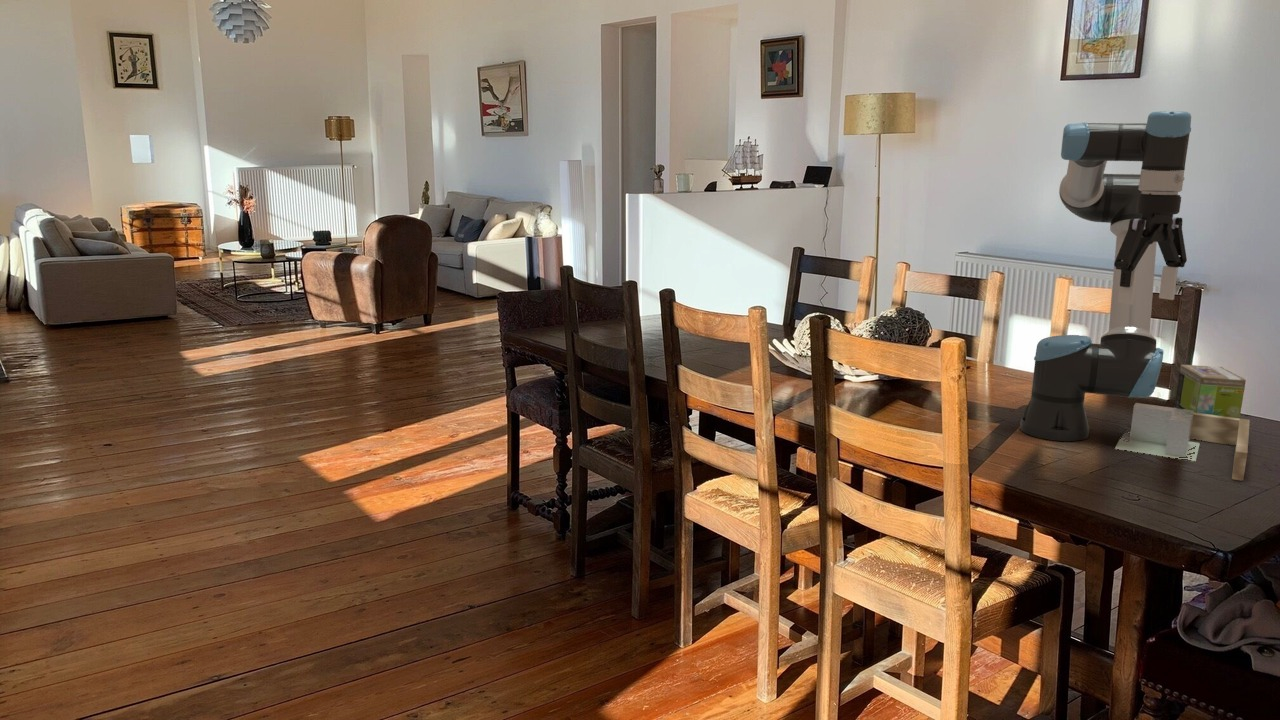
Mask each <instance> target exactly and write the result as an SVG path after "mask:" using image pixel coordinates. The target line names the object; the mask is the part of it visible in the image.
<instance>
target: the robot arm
mask: <svg viewBox="0 0 1280 720" xmlns="http://www.w3.org/2000/svg"><path fill="white" fill-rule="evenodd" d="M1191 124H1192V115H1191V113H1190V112H1189V111H1181V110H1180V111H1179V110H1178V111H1177V110H1176V111H1175V110H1173V111H1172V110H1171V111H1170V110H1166V111H1163V110H1162V111H1153V112H1150V113H1149V114H1148V116H1147V122H1146V123H1145V122H1143V123H1142V122H1141V123H1121V122H1120V123H1116V122H1115V123H1110V122H1109V123H1108V122H1107V123H1103V122H1099V123H1098V122H1097V123H1096V122H1077V123H1068V124H1066V125H1065V126H1064V127H1063V132H1062V138H1061V139H1062V140H1061V152H1060V157H1061V159H1063V160H1065V161H1068V164H1067V165H1068V166H1067V168H1066V169H1067V170H1066V174H1065V175H1064V176H1063V178H1062V180H1061V181H1060V184H1059V199H1060V201H1061V203H1062V204H1063V206H1064V207H1065V208H1066V209H1067V210H1068V211H1069V212H1071V213H1072V214H1073V215H1075V216H1077V217H1078V218H1081V219H1083V220H1086V221H1090V222H1093V223H1105V224H1106V223H1107V224H1108V223H1110V228H1109V230H1110V232H1111V233H1112V234H1113V235H1114V236H1115V237H1116V238H1115V239H1116V240H1115V250H1114V263H1113V275H1112V284H1111V285H1112V289H1111V299H1110V312H1109V323H1108V325H1109V326H1108V331H1107V332H1105V333H1104V334H1103V335H1101V336H1100V343H1093V340H1092V339H1091V337H1090V336H1087V335H1078V334H1065V335H1063V334H1062V335H1060V334H1059V335H1054V336H1052V335H1051V336H1047V337H1045V338H1042V339H1040V340H1039V341H1038V342H1037V345H1036V349H1035V356H1034V357H1033V360H1034V368H1033V376H1032V385H1031V393H1030V394H1031V396H1030V398H1029V399H1030V400H1029V401H1028V404H1027V406H1026V408H1025V410H1024V412H1023V415H1022V416H1021V419H1020V426H1019V429H1020V431H1022V432H1023V433H1024V434H1027V435H1029V436H1032V437H1035V438H1040V439H1044V440H1051V441H1060V442H1061V441H1062V442H1076V441H1077V442H1078V441H1082V440H1086V439H1088V438H1089V434H1090V425H1089V422H1088V418H1087V417H1088V416H1087V412H1086V407H1085V396H1086V394H1093V395H1094V394H1095V395H1107V396H1116V397H1126V398H1128V399H1130V398H1141V399H1142V398H1143V399H1145V398H1148V397H1150V396H1152V395H1153V393H1154V392H1155V389H1156V386H1157V384H1158V380H1159V377H1160V374H1161V373H1160V372H1161V369H1162V365H1163V361H1164V352H1165V351H1164V349H1162V348H1160V347H1157V338H1155V336H1153V335H1152V334H1151V321H1152V319H1151V318H1152V309H1153V308H1152V307H1153V294H1154V293H1153V292H1154V281H1155V280H1154V279H1155V270H1156V269H1155V268H1156V255H1157V244H1158V247H1159V249H1160V252H1161V255H1162V257H1163V260H1164V262H1165V265H1164V266H1163V265H1162V270H1161V278H1160V279H1161V280H1160V286H1159V287H1160V288H1159V294H1158V299H1163V300H1170V301H1174V300H1175V294H1176V286H1177V285H1176V284H1177V278H1178V272H1179V268H1185V265H1186V263H1187V259H1188V258H1187V252H1186V251H1187V250H1186V247H1185V246H1186V245H1185V240H1184V234H1183V233H1184V232H1183V217H1175V216H1174V215H1177V214H1180V209H1181V203H1182V196H1181V195H1180V194H1179V193H1180V192H1181V193H1182V191H1183V185H1184V184H1183V183H1184V181H1185V170H1186V163H1187V162H1186V161H1187V153H1188V149H1189V148H1188V147H1189V140H1190V136H1191V135H1190V134H1191V132H1192V128H1191ZM1108 162H1141V170H1140V173H1139V174H1138V173H1137V174H1135V173H1134V174H1133V173H1129V174H1128V173H1127V174H1126V173H1105V170H1106V167H1107V166H1106V165H1107V163H1108Z"/></svg>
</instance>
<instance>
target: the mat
mask: <svg viewBox="0 0 1280 720" xmlns="http://www.w3.org/2000/svg"><path fill="white" fill-rule="evenodd" d="M1120 438H1121V437H1120ZM1120 438H1119V439H1118V442H1117V444H1116V446H1115V448H1114V450H1117V449H1119V450H1120V451H1124V450H1127V451H1126V452H1130V451H1132V452H1131V453H1137V452H1138V453H1137V454H1143V453H1145V454H1144V455H1149V454H1151V456H1156V455H1157V457H1162V456H1163V458H1168V457H1170V459H1175V458H1178V459H1177V460H1181V459H1188V460H1191V461H1190V462H1194V461H1195V463H1196V461H1197V457H1198V454H1199V449H1200V442H1195V441H1190V442H1189V447H1188V450H1189V449H1191V448H1193V447H1195V446H1196V447H1195V449H1192V450H1189V451H1187V454H1189V453H1193V452H1195V454H1191V455H1186V456H1187V457H1188V458H1179V457H1180V456H1173V455H1167V454H1165V453H1166V446H1167V445H1162V444H1156V443H1149V442H1143V441H1136V440H1130V441H1129V442H1126V441H1128V440H1125V441H1123V440H1124V439H1125V438H1121V439H1120ZM1119 450H1118V451H1119ZM1190 456H1192V457H1190ZM1190 458H1192V459H1190Z"/></svg>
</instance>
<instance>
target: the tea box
mask: <svg viewBox="0 0 1280 720" xmlns="http://www.w3.org/2000/svg"><path fill="white" fill-rule="evenodd" d="M1246 381H1247V380H1246V378H1244V377H1242V376H1240V375H1238V374H1236V373H1234V372H1232V371H1230V370H1229V369H1227V368H1225V367H1223V366H1213V365H1211V366H1208V365H1195V364H1180V368H1179V372H1178V381H1177V388H1176V395H1175V401H1174V407H1173V408H1178V409H1186V410H1193V411H1194V412H1195V413H1202V414H1209V415H1217V416H1224V417H1232V418H1239V419H1241V412H1242V406H1243V400H1244V394H1245V388H1246Z"/></svg>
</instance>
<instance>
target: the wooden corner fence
mask: <svg viewBox="0 0 1280 720" xmlns="http://www.w3.org/2000/svg"><path fill="white" fill-rule="evenodd" d="M1250 421H1251V419H1245V418H1240V419H1239V418H1232V417H1224V416H1217V415H1209V414H1202V413H1195V412H1194V413H1193V420H1192V427H1191V435H1190V440H1194V439H1196V440H1197V441H1201V440H1202V442H1208V443H1209V442H1210V443H1215V444H1222V445H1228V444H1229V446H1235V445H1236V446H1235V448H1234V456H1233V457H1234V458H1233V464H1232V465H1233V467H1232V474H1231V480H1235V481H1241V482H1243V481H1244V477H1245V472H1246V463H1247V457H1248V452H1249V451H1248V449H1249V447H1248V446H1249V436H1250V435H1249V433H1250Z"/></svg>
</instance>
